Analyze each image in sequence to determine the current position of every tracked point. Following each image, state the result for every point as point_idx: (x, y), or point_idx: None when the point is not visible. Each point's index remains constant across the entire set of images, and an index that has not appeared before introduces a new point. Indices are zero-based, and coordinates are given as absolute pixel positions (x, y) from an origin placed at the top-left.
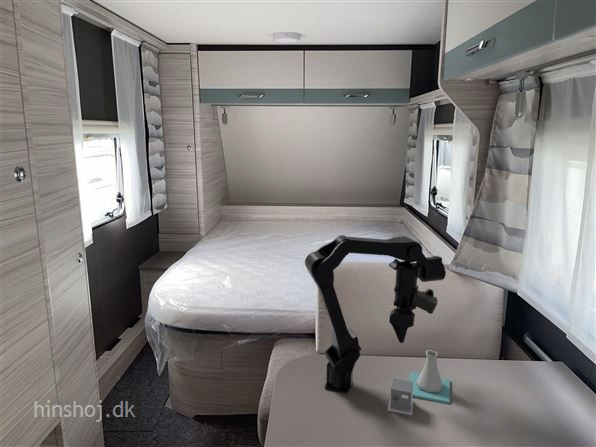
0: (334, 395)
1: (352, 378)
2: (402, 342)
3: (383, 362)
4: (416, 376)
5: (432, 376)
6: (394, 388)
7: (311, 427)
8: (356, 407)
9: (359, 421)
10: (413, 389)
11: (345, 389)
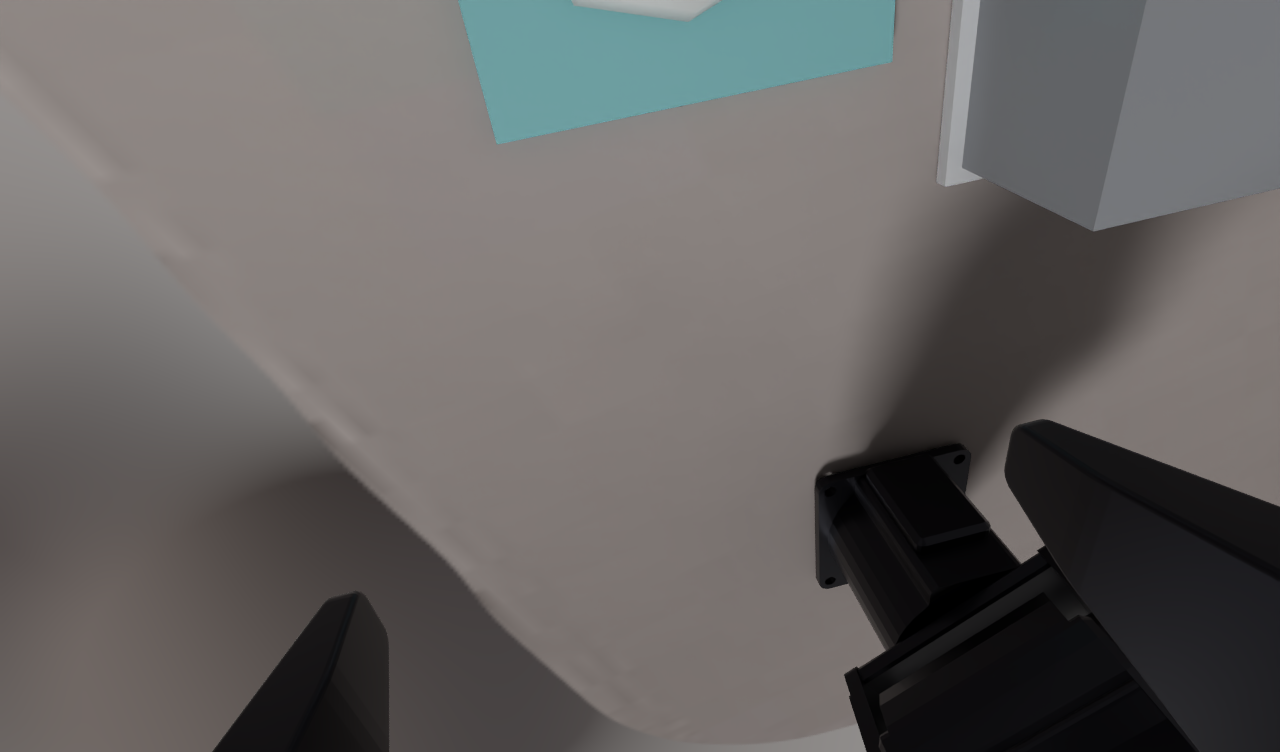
0: (993, 482)
1: (895, 490)
2: (1043, 434)
3: (444, 411)
4: (542, 53)
5: None
6: (1277, 158)
7: (1270, 444)
8: (1093, 338)
9: (1229, 268)
10: (800, 15)
11: (950, 466)
